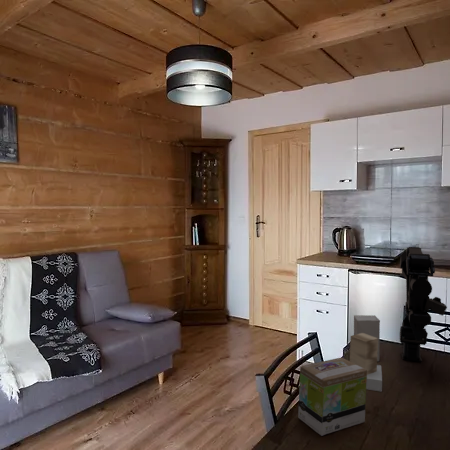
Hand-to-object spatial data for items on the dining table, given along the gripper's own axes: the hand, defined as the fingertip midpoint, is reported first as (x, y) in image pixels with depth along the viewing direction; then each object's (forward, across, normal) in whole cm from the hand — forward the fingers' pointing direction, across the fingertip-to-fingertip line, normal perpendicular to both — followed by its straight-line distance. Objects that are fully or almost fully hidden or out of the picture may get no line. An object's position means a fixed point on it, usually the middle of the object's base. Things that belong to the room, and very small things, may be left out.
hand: (416, 336), depth 136 cm
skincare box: (+13, +8, +16) cm, 22 cm away
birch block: (+10, -12, +17) cm, 23 cm away
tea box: (+13, -40, +24) cm, 49 cm away
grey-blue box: (+14, -12, +17) cm, 25 cm away
